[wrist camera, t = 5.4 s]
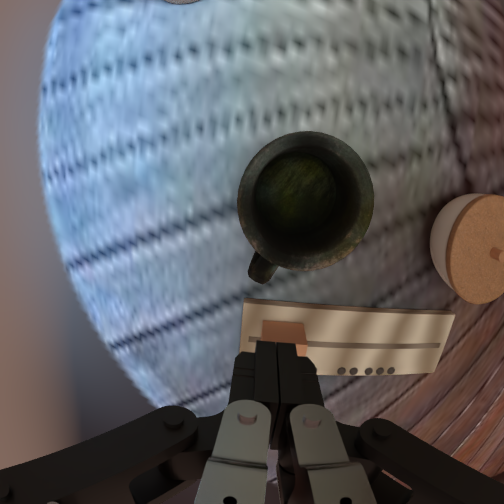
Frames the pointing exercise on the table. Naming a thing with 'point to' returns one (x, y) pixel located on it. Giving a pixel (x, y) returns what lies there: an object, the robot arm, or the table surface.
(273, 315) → the count board
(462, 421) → the table surface
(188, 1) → the fruit juice
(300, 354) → the slider
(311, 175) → the mug
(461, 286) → the lidded bowl
